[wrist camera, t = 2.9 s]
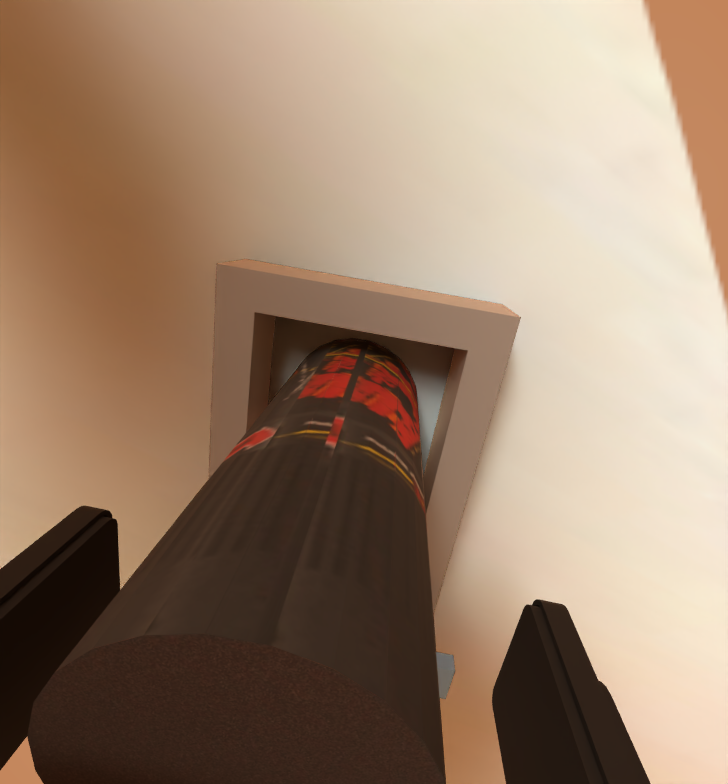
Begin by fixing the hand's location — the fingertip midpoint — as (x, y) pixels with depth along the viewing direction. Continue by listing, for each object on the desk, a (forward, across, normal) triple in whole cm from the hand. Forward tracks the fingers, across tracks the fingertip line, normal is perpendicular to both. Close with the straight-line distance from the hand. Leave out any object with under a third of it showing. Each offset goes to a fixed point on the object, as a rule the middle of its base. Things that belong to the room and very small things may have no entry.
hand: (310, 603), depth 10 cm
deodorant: (+11, +1, -1) cm, 11 cm away
